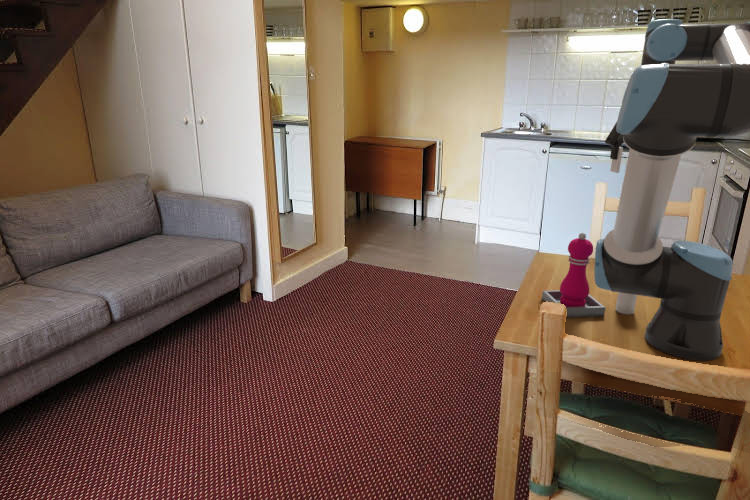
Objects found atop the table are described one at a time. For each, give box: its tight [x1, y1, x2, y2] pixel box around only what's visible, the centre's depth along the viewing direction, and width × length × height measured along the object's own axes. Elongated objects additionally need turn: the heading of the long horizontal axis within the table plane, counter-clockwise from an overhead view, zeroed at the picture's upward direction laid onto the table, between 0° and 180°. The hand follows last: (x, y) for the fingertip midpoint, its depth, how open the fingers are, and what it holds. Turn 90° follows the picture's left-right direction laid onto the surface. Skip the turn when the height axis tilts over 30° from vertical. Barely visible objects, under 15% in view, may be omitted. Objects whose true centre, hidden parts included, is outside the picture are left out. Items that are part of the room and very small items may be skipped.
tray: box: [541, 289, 606, 318], centre depth 132 cm, size 12×12×2 cm
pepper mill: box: [559, 232, 594, 307], centre depth 129 cm, size 7×7×20 cm
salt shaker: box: [615, 292, 638, 315], centre depth 129 cm, size 4×4×10 cm
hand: (638, 171), depth 132 cm, fingers open, 13 cm apart
